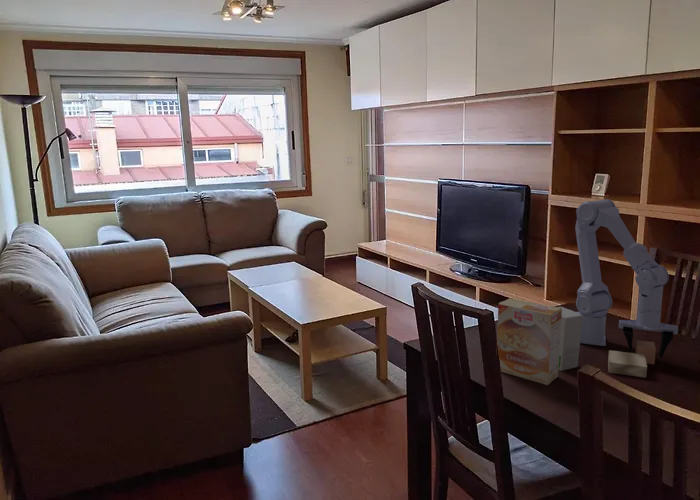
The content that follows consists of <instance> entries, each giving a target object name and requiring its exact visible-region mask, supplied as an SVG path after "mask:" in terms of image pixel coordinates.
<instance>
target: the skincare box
mask: <svg viewBox="0 0 700 500" xmlns="http://www.w3.org/2000/svg"><path fill="white" fill-rule="evenodd" d="M556 307H557V308H562V318H561V334H560V351H559V369H558V371H561V372H563V371H565V370H566V371H567V370H570V369H574V368H578V367H579V360H580V359H579V356H580V347H581V343H580V339H581V329H582V320H583V315H581V314H578V313H576V312H577V311H574V310H571V309H568V308H565V307H564V306H556Z"/></svg>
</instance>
